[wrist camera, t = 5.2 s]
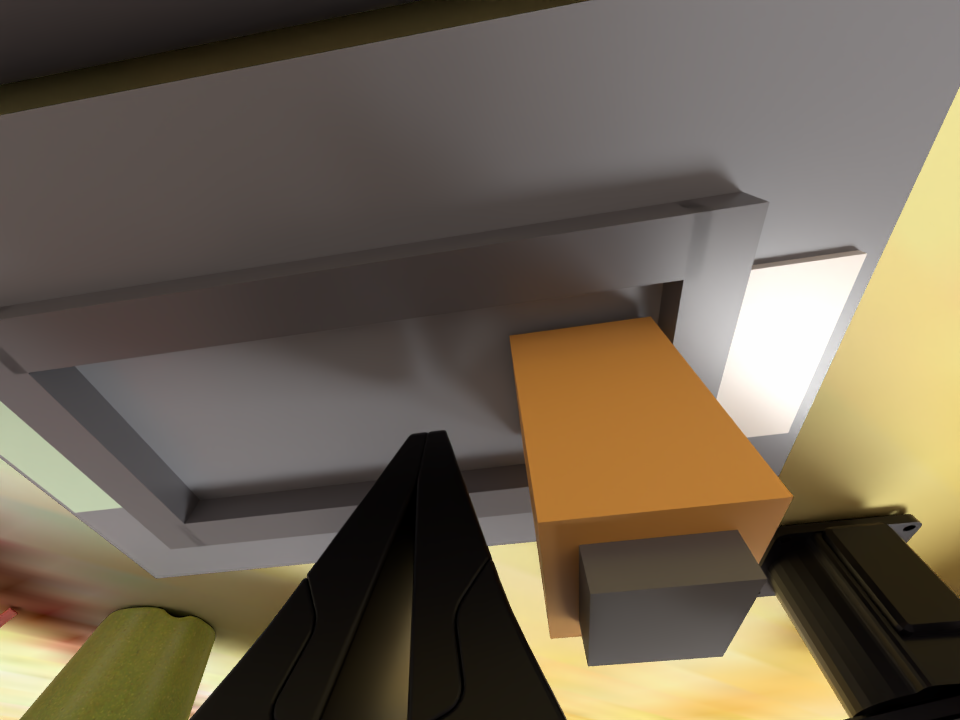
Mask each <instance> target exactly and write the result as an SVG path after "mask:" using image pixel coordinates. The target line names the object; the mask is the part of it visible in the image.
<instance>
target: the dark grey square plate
mask: <svg viewBox="0 0 960 720" xmlns="http://www.w3.org/2000/svg"><path fill="white" fill-rule="evenodd" d="M415 1H420V0H0V85H2V84H7V83H12V82H17V81H22V80H27V79H32V78H37V77H42V76H47V75H52V74H57V73H62V72H67V71H72V70H77V69H82V68H87V67H92V66H97V65H102V64H107V63H112V62H117V61H122V60H127V59H132V58H137V57H142V56H147V55H152V54H157V53H162V52H167V51H172V50H177V49H181V48H186V47H191V46H196V45H201V44H206V43H211V42H216V41H221V40H226V39H231V38H236V37H241V36H246V35H251V34H256V33H261V32H266V31H271V30H276V29H281V28H286V27H291V26H296V25H301V24H306V23H311V22H316V21H321V20H326V19H331V18H336V17H341V16H346V15H351V14H356V13H361V12H366V11H371V10H376V9H381V8H385V7H390V6H395V5H400V4H405V3H410V2H415Z"/></svg>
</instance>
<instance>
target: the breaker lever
mask: <svg viewBox="0 0 960 720" xmlns="http://www.w3.org/2000/svg"><path fill="white" fill-rule="evenodd" d="M509 337H510V345H511V354H512V362H513V370H514V378H515V386H516V394H517V402H518V411H519V419H520V427H521V435H522V443H523V451H524V458H525V465H526V472H527V479H528V486H529V493H530V500H531V506H532V513H533V520H534V527H535V534H536V541H537V548H538V555H539V562H540V569H541V576H542V583H543V590H544V597H545V604H546V611H547V618H548V625H549V632H550V639H553V638H566V637H578V636H582V639H583V644H584V649H585V654H586V659H587V664H588V666H599V665H613V664H626V663H640V662H654V661H667V660H681V659H694V658H708V657H721V656H723V655H724V653H725V652H726V650H727V648H728V646H729V645H730V643H731V641H732V639H733V638H734V636H735V634H736V632H737V631H738V629H739V627H740V625H741V624H742V622H743V620H744V618H745V617H746V615H747V613H748V612H749V610H750V608H751V606H752V605H753V603H754V601H755V599H756V598H757V596H758V594H759V592H760V591H761V589H762V587H763V585H764V584H765V582H766V580H767V577H766V576H765V574H764V572H763V571H762V569H761V568H760V566H759V562H760V560H761V558H762V557H763V555H764V553H765V551H766V549H767V547H768V545H769V543H770V541H771V539H772V537H773V536H774V534H775V532H776V530H777V528H778V526H779V524H780V522H781V520H782V518H783V517H784V515H785V513H786V511H787V509H788V507H789V505H790V503H791V501H792V499H793V495H792V494H791V493H790V491H789V490H788V489H787V488H786V486H785V485H784V484H783V483H782V481H781V480H780V479H779V478H778V476H777V475H776V474H775V473H774V471H773V470H772V469H771V468H770V466H769V465H768V464H767V463H766V461H765V460H764V459H763V457H762V456H761V455H760V454H759V452H758V451H757V450H756V449H755V447H754V446H753V445H752V444H751V442H750V441H749V440H748V439H747V437H746V436H745V435H744V434H743V432H742V431H741V430H740V428H739V427H738V426H737V425H736V423H735V422H734V421H733V420H732V418H731V417H730V416H729V415H728V413H727V412H726V411H725V410H724V408H723V407H722V406H721V405H720V403H719V402H718V401H717V399H716V398H715V397H714V396H713V394H712V393H711V392H710V391H709V389H708V388H707V387H706V386H705V384H704V383H703V382H702V381H701V379H700V378H699V377H698V376H697V374H696V373H695V372H694V370H693V369H692V368H691V367H690V365H689V364H688V363H687V362H686V360H685V359H684V358H683V357H682V355H681V354H680V353H679V352H678V350H677V349H676V348H675V347H674V345H673V344H672V343H671V341H670V340H669V339H668V338H667V336H666V335H665V334H664V333H663V331H662V330H661V329H660V328H659V326H658V325H657V324H656V323H655V321H654V320H653V319H652V318H651V316H650V317H643V318H636V319H628V320H621V321H613V322H606V323H599V324H591V325H584V326H577V327H569V328H562V329H555V330H547V331H540V332H532V333H525V334H518V335H510V336H509Z"/></svg>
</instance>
